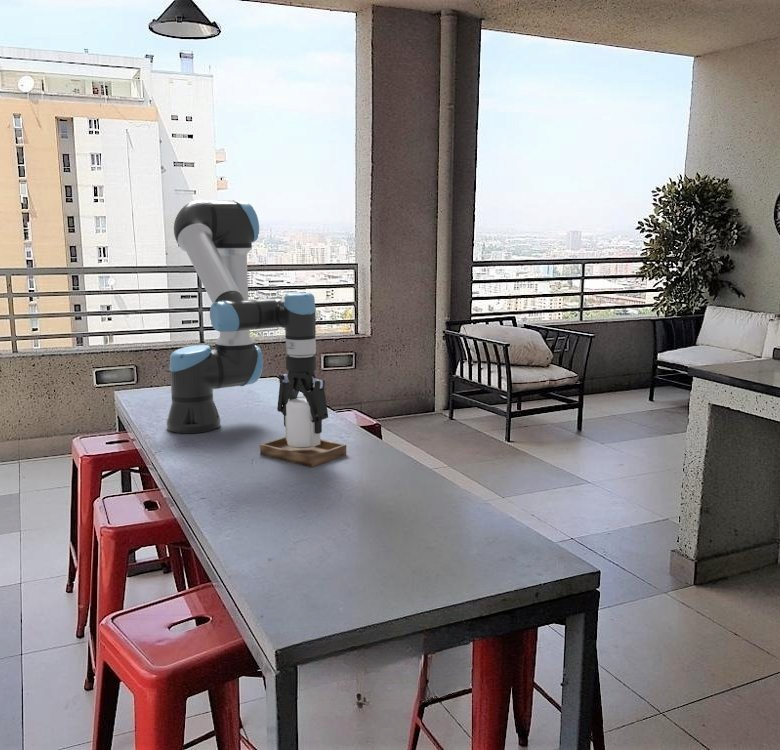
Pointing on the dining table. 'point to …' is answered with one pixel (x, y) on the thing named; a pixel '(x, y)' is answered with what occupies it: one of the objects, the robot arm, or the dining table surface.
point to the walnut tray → (303, 452)
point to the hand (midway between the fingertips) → (302, 442)
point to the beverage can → (298, 423)
